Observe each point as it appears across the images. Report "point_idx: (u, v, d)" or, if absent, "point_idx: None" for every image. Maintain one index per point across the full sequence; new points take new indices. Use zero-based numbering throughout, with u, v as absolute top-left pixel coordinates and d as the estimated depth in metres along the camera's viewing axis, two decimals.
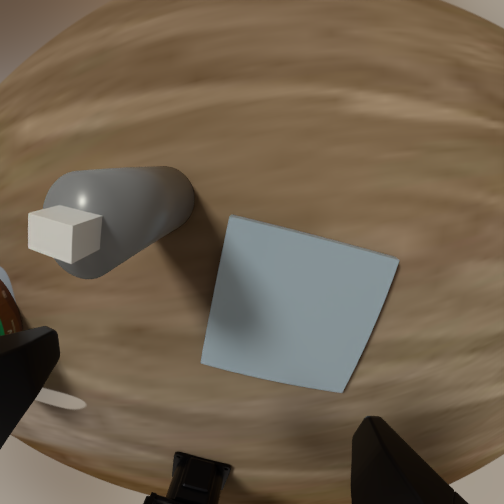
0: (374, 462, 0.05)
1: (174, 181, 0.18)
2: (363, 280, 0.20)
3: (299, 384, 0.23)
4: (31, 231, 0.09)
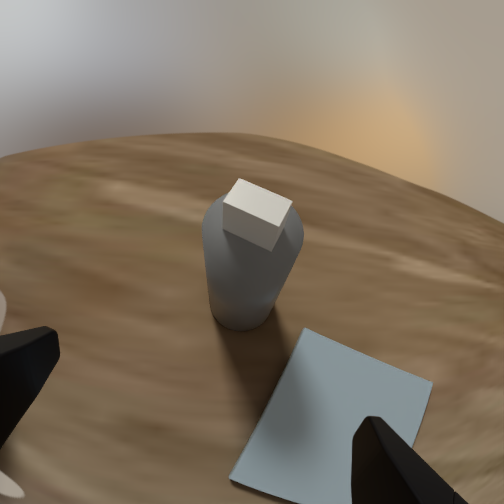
0: (374, 462, 0.05)
1: None
2: (406, 399, 0.19)
3: None
4: (236, 191, 0.12)
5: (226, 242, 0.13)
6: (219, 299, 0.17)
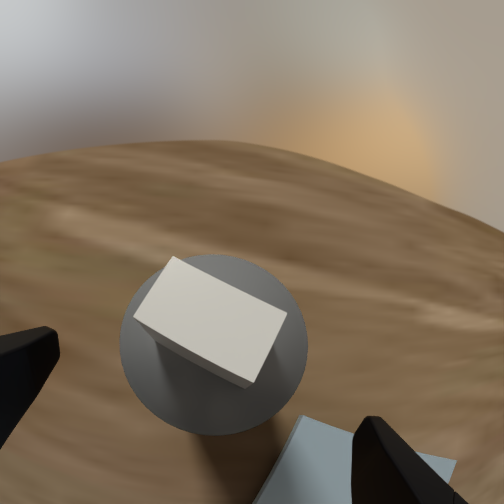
0: (374, 462, 0.05)
1: None
2: None
3: None
4: (163, 290, 0.05)
5: (161, 369, 0.07)
6: None
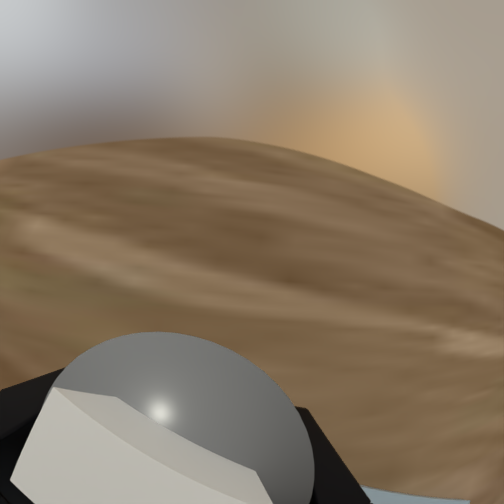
0: None
1: None
2: None
3: None
4: (44, 450, 0.02)
5: None
6: None
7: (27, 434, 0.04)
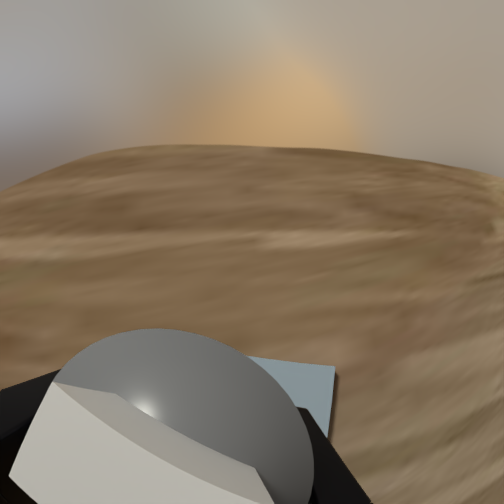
0: None
1: None
2: (302, 392, 0.19)
3: None
4: (43, 446, 0.02)
5: None
6: None
7: None
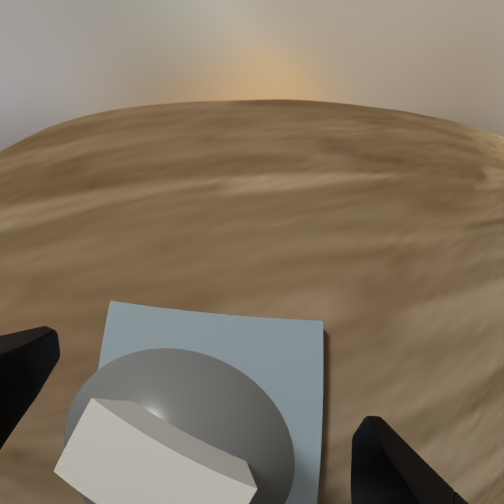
0: (374, 462, 0.05)
1: None
2: (284, 355, 0.15)
3: None
4: (84, 445, 0.03)
5: None
6: None
7: None
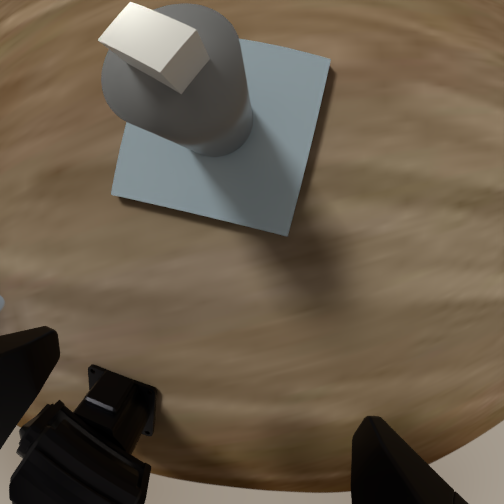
0: (374, 462, 0.05)
1: None
2: (291, 76, 0.17)
3: (228, 219, 0.19)
4: (120, 21, 0.06)
5: (126, 81, 0.08)
6: None
7: None
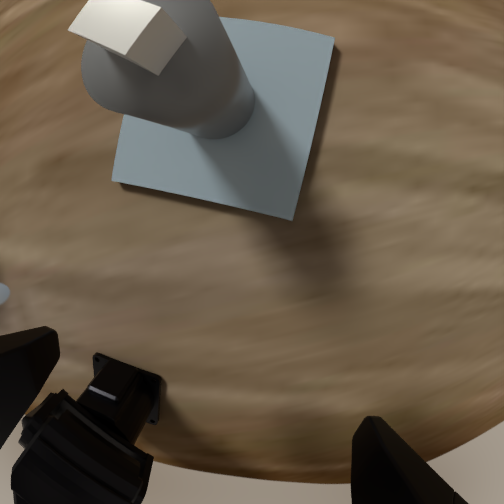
0: (374, 462, 0.05)
1: (248, 80, 0.13)
2: (294, 55, 0.15)
3: (230, 203, 0.18)
4: (87, 9, 0.05)
5: (105, 67, 0.07)
6: None
7: None
